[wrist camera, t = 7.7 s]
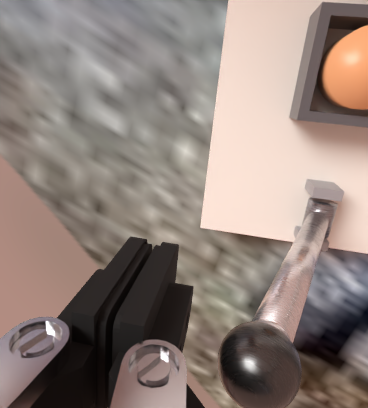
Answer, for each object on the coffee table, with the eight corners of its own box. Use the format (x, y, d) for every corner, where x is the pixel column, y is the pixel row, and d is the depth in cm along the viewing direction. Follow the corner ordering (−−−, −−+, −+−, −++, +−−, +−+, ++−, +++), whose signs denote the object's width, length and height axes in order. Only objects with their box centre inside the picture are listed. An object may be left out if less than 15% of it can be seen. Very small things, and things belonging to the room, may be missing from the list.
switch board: (535, -139, 15) (692, -265, 10) (393, 241, 22) (441, 283, 17) (249, -140, 17) (254, -246, 11) (204, 212, 24) (195, 243, 19)
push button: (403, 35, 15) (427, 26, 13) (380, 111, 16) (398, 113, 14) (326, 30, 15) (339, 20, 13) (309, 104, 16) (319, 105, 15)
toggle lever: (342, 202, 18) (302, 386, 6) (333, 233, 18) (281, 454, 6) (307, 194, 19) (209, 340, 7) (299, 224, 19) (199, 404, 7)
